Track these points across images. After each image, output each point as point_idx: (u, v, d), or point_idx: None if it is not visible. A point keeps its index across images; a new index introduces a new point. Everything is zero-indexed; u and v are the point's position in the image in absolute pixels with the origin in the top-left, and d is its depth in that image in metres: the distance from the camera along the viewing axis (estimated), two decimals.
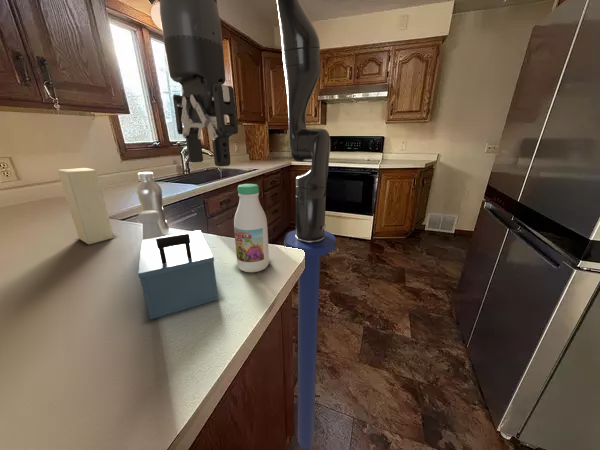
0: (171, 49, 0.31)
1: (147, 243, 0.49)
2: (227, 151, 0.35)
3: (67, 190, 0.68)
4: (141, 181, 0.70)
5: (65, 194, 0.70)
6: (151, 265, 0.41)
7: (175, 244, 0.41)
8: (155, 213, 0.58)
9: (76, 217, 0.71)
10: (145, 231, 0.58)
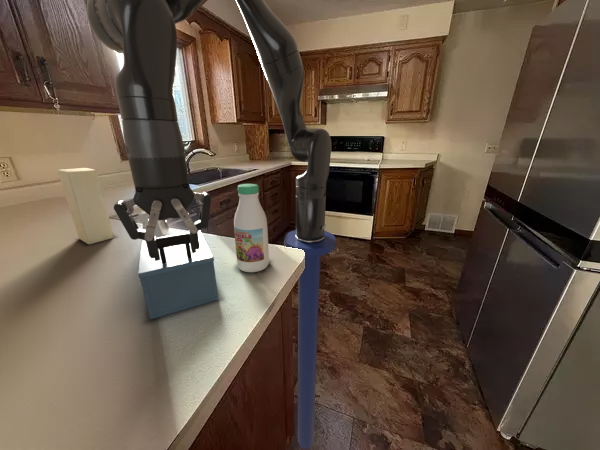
0: (166, 167, 0.35)
1: None
2: None
3: (67, 190, 0.68)
4: None
5: (65, 194, 0.70)
6: (151, 265, 0.41)
7: (175, 244, 0.41)
8: None
9: (76, 217, 0.71)
10: None
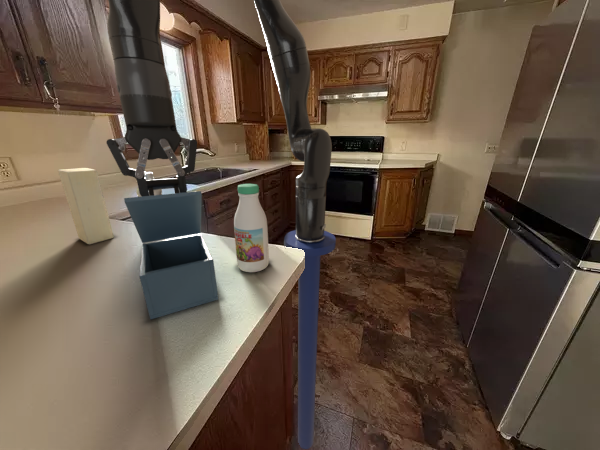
0: (154, 104, 0.38)
1: None
2: None
3: (67, 190, 0.68)
4: None
5: (65, 194, 0.70)
6: None
7: (163, 183, 0.44)
8: None
9: (76, 217, 0.71)
10: None
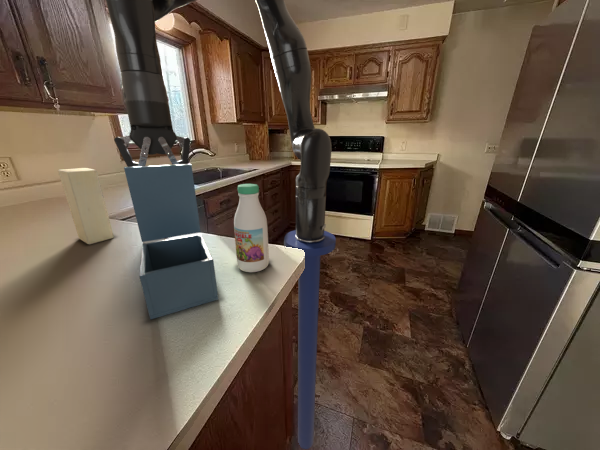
0: (153, 109, 0.46)
1: None
2: None
3: (67, 190, 0.68)
4: None
5: (65, 194, 0.70)
6: None
7: None
8: None
9: (76, 217, 0.71)
10: None
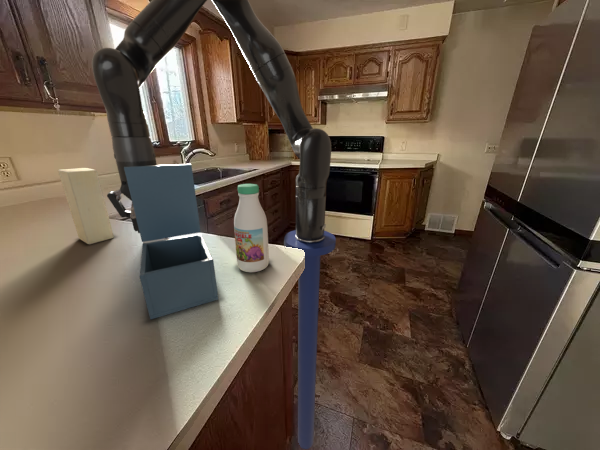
0: None
1: None
2: None
3: (67, 190, 0.68)
4: None
5: (65, 194, 0.70)
6: None
7: None
8: None
9: (76, 217, 0.71)
10: None
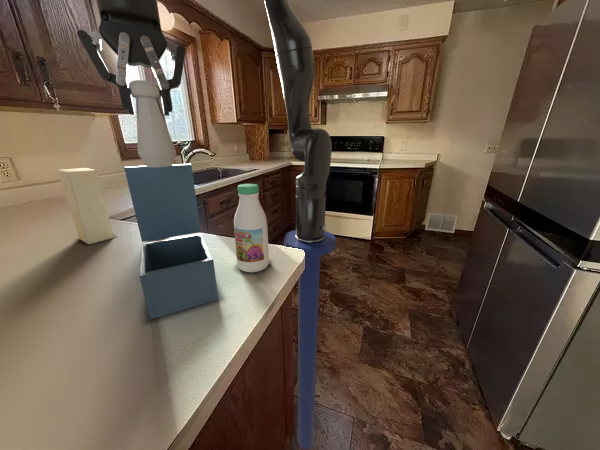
0: None
1: None
2: None
3: (67, 190, 0.68)
4: None
5: (65, 194, 0.70)
6: None
7: None
8: (155, 84, 0.38)
9: (76, 217, 0.71)
10: (140, 111, 0.38)
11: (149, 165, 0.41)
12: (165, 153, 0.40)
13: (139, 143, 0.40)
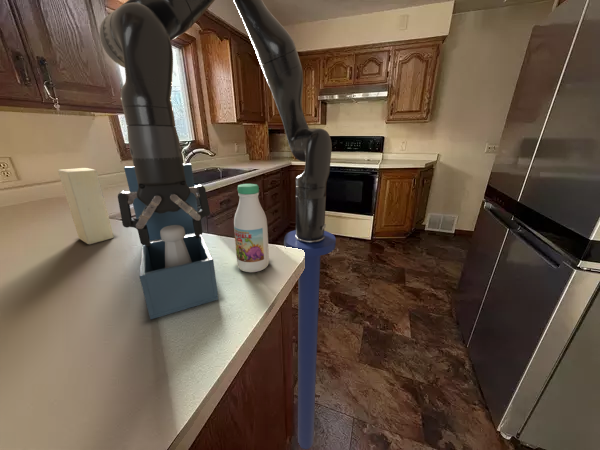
0: (165, 166, 0.40)
1: None
2: None
3: (67, 190, 0.68)
4: None
5: (65, 194, 0.70)
6: None
7: None
8: (181, 229, 0.47)
9: (76, 217, 0.71)
10: (169, 251, 0.46)
11: None
12: None
13: None
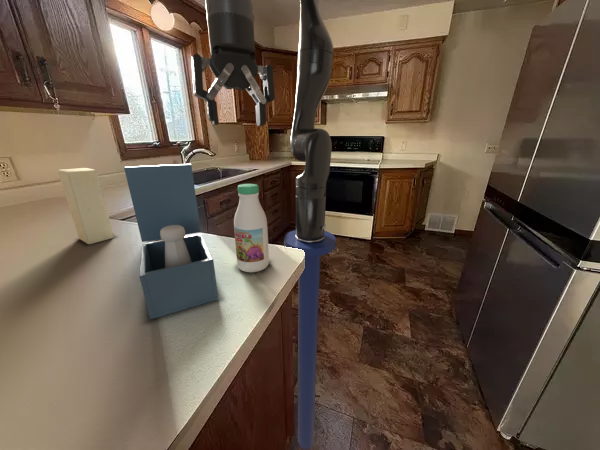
0: (242, 25, 0.39)
1: None
2: None
3: (67, 190, 0.68)
4: None
5: (65, 194, 0.70)
6: None
7: None
8: (181, 229, 0.47)
9: (76, 217, 0.71)
10: (169, 251, 0.46)
11: None
12: None
13: None
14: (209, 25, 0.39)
